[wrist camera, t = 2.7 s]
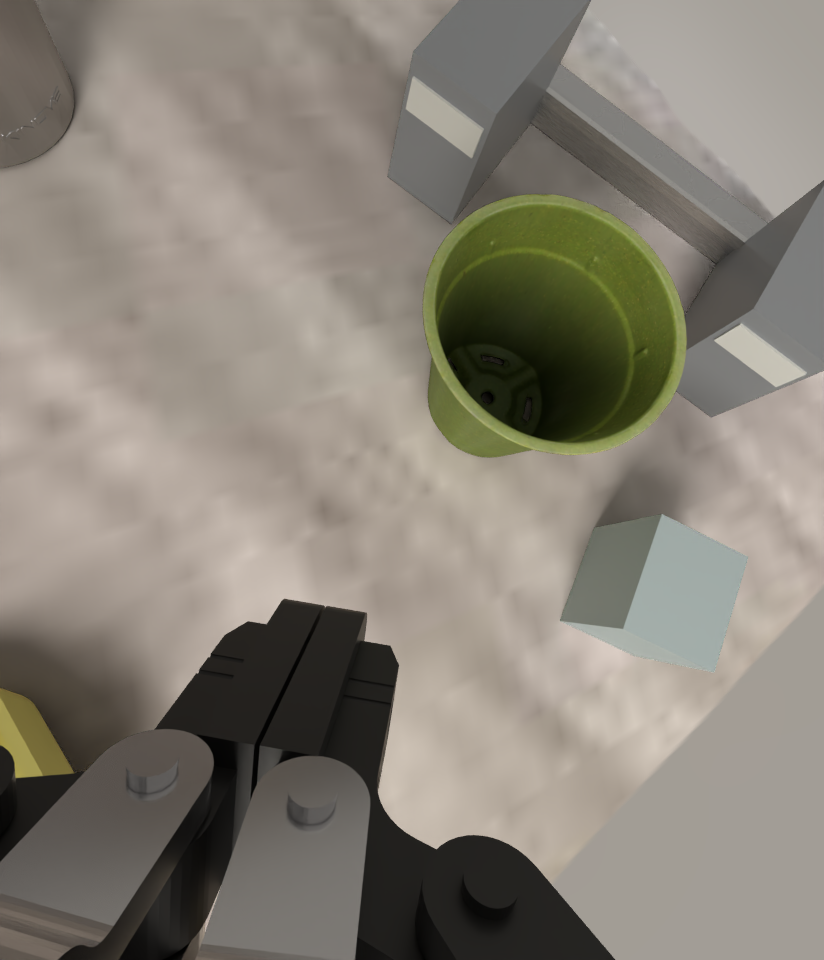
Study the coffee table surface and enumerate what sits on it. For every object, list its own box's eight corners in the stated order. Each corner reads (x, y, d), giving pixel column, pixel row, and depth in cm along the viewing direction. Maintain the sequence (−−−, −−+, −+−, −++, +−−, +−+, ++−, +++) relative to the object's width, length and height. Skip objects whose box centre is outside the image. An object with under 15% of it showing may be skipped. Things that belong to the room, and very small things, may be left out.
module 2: (559, 621, 34) (622, 629, 27) (593, 527, 36) (662, 513, 29) (633, 656, 35) (714, 672, 28) (664, 562, 36) (748, 556, 29)
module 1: (386, 178, 37) (411, 53, 28) (471, 77, 40) (518, -66, 31) (450, 225, 37) (494, 116, 29) (530, 123, 40) (594, -7, 31)
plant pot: (539, 293, 38) (635, 174, 27) (598, 468, 36) (724, 417, 25) (362, 328, 35) (389, 212, 24) (418, 518, 34) (472, 486, 23)
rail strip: (468, 81, 40) (481, 41, 37) (486, 59, 40) (501, 18, 37) (770, 311, 41) (806, 290, 38) (784, 286, 41) (821, 263, 38)
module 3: (649, 373, 38) (752, 311, 29) (716, 263, 41) (829, 175, 32) (710, 419, 38) (830, 370, 30) (773, 307, 41) (900, 231, 32)
